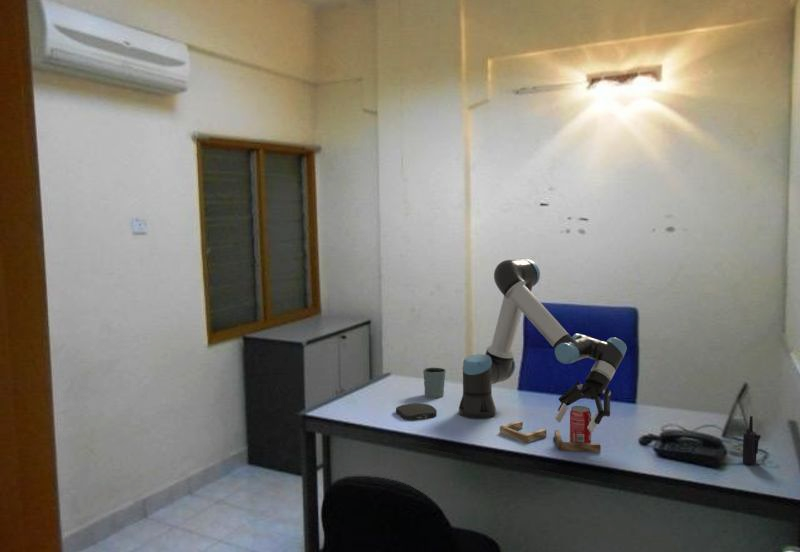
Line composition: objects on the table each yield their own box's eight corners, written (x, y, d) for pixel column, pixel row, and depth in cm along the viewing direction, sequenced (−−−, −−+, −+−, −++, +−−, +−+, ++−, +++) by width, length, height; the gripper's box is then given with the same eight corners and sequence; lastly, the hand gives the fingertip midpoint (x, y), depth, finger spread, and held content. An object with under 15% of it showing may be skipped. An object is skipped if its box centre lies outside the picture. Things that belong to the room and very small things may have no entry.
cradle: (556, 436, 219) (556, 429, 219) (602, 451, 204) (602, 444, 204) (537, 442, 213) (537, 435, 213) (583, 458, 198) (583, 451, 198)
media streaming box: (425, 408, 257) (425, 401, 256) (439, 417, 243) (439, 410, 243) (393, 412, 251) (393, 405, 251) (406, 422, 238) (406, 414, 238)
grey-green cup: (418, 395, 274) (418, 369, 273) (434, 391, 281) (434, 366, 280) (435, 400, 267) (434, 373, 266) (450, 395, 274) (450, 369, 273)
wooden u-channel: (519, 427, 229) (519, 420, 229) (546, 436, 219) (546, 429, 219) (499, 433, 223) (499, 426, 223) (526, 442, 213) (526, 436, 212)
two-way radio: (746, 459, 196) (748, 413, 195) (761, 462, 193) (763, 416, 192) (740, 463, 192) (742, 417, 191) (756, 467, 189) (758, 420, 188)
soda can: (592, 448, 206) (593, 411, 205) (571, 448, 207) (572, 411, 206) (588, 441, 213) (589, 405, 212) (567, 440, 214) (568, 405, 213)
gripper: (635, 389, 209) (608, 441, 201) (576, 375, 229) (549, 422, 221) (627, 376, 205) (599, 428, 197) (567, 363, 225) (540, 410, 217)
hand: (573, 425), depth 209 cm, fingers open, 13 cm apart
